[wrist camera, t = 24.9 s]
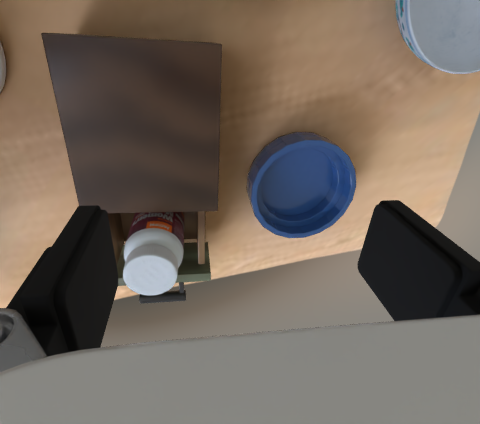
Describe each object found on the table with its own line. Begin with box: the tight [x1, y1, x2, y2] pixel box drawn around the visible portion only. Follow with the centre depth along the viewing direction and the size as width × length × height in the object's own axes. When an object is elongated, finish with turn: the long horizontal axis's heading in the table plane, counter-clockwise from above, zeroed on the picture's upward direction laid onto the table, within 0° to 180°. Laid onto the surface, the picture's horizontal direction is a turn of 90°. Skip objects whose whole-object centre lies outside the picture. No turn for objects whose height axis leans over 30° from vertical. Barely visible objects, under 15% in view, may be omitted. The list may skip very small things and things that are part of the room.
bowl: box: [247, 132, 356, 238], centre depth 40 cm, size 13×13×4 cm
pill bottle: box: [123, 212, 184, 295], centre depth 35 cm, size 6×6×11 cm
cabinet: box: [41, 33, 222, 213], centre depth 32 cm, size 16×14×9 cm
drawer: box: [108, 211, 211, 303], centre depth 38 cm, size 20×12×7 cm, turn 176°
